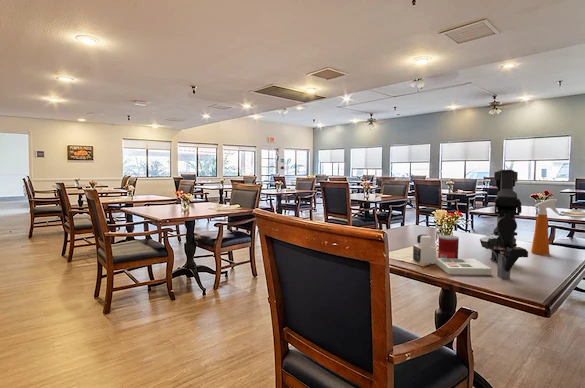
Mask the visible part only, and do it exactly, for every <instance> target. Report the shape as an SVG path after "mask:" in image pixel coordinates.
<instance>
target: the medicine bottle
mask: <svg viewBox="0 0 585 388" xmlns="http://www.w3.org/2000/svg"><path fill="white" fill-rule="evenodd" d="M416 238H417V240H416V242H417V243H416V244H413V247H412V249H413V250H412V260H413V261H414V262H415V263H417V264H419V265H436V258H437V248H436V247H435V246H433V236H432V235H429V234H424V233H423V234H419V235H417V237H416ZM430 263H431V264H430Z"/></svg>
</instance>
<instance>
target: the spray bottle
mask: <svg viewBox="0 0 585 388" xmlns="http://www.w3.org/2000/svg"><path fill="white" fill-rule="evenodd" d="M556 203H558V198H551V199H547V200H543V201H540V202H538V203H536V204H535V205H534V207H535V208H538V210H537V216H536V221H535V229H534V233H533V239H532V245H531V253H532V254H535V255H541V256H548V255H550V242H549V240H550V239H549V226H548V225H549V224H548V223H549V222H548V210H547V209H551V210H552V211H553V212H554V213H555V214H557V215H558V216H561V214H560V212H559V211H558V209H557V208H556Z"/></svg>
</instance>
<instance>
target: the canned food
mask: <svg viewBox="0 0 585 388" xmlns="http://www.w3.org/2000/svg"><path fill="white" fill-rule="evenodd" d="M459 241H460V240H459V237H458V236H457V235H451V234H440V235H438V256H437V257H438V258H453V259H459V247H460V246H459Z"/></svg>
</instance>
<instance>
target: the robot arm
mask: <svg viewBox="0 0 585 388" xmlns="http://www.w3.org/2000/svg"><path fill="white" fill-rule="evenodd" d="M493 175H494V177H493V182H494V183H495V187H496V188H497V190H498V192H497V196H496V197H495V198H494V215H497V217H496V218H497V219H496V226H495V228H494V229H493V233H491V235H487V236H483V237H480V238H479V242H480V245H481V247H482V248H485V249H486V250H490V251H491V258H490V260H491V261H493V262H495V263H497V264H498V253H500V251H502V252H505V254H501V255H502V256H503V257H504V262H505V271H506V272H509V271H510V272H511V269H512V268H513V266H514V265H515V264H516V262H517V261H518V259H519V258H529V251H528V250H527V249H526V248H525V247H521V246H517V245H518V243H517V238H516V237H515V236H518V232H516V231H517V228H518V223H517V221H516V216H520V214H522V212H523V211H522V201H521V200H520V198H518V193H517V192H515V191H514V188H515V186H516V183H517V182H518V179H519V178H518V175H519V174H518V172H517V171H515V170H514V169H499V170H498V171H495V172H494V174H493Z"/></svg>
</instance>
